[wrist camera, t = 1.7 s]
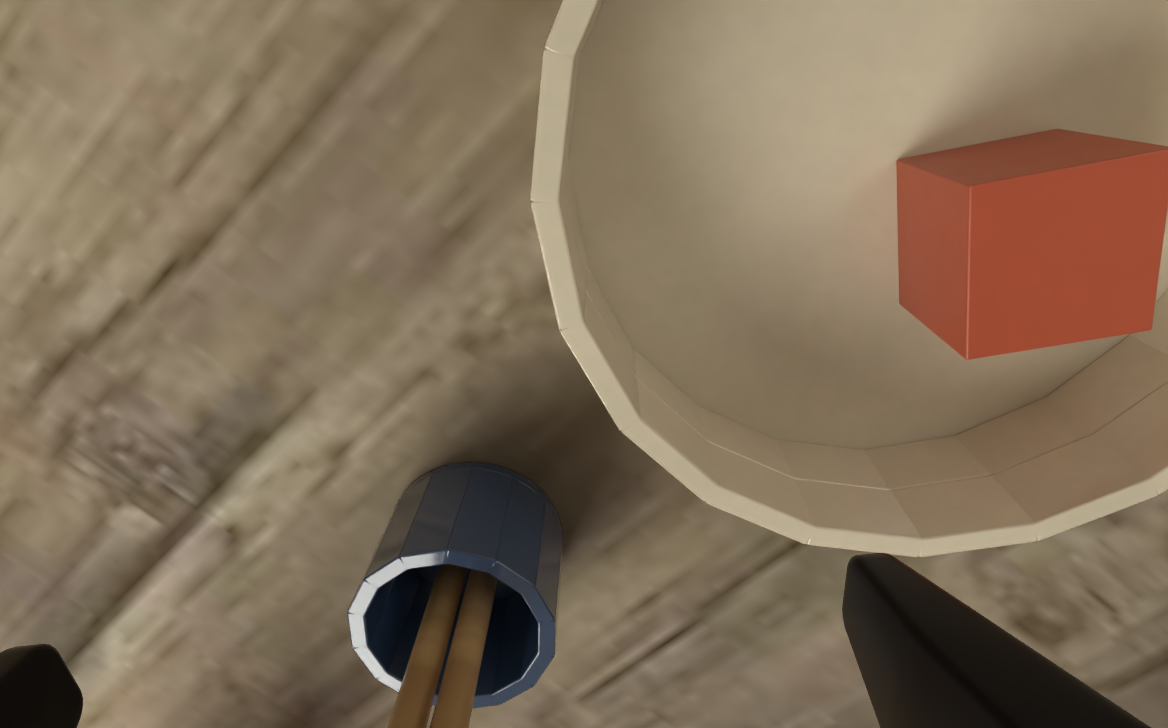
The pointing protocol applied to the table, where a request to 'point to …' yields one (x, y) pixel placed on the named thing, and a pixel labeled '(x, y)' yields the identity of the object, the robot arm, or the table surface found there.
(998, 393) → the bowl
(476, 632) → the chopsticks
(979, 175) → the block
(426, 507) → the holder
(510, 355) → the table surface
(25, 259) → the table surface
